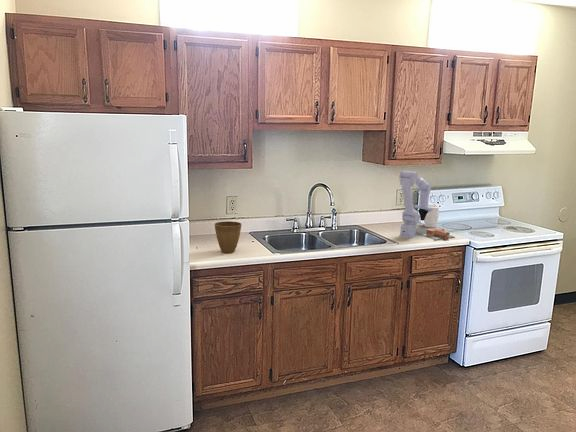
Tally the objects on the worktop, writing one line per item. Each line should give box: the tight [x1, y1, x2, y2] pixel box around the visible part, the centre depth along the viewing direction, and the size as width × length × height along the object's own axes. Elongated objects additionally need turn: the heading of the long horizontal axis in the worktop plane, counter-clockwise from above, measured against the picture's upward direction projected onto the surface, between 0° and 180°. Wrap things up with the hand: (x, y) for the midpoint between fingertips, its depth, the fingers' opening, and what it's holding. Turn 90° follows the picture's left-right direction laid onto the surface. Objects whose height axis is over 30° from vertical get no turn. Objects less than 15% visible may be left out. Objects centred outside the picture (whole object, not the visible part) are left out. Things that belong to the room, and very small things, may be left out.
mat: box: [415, 227, 455, 242], centre depth 322 cm, size 18×30×1 cm, turn 31°
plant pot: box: [214, 220, 242, 254], centre depth 269 cm, size 15×15×16 cm
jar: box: [423, 204, 440, 228], centre depth 345 cm, size 11×10×15 cm
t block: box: [426, 227, 451, 240], centre depth 313 cm, size 12×12×4 cm
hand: (422, 220), depth 325 cm, fingers closed
